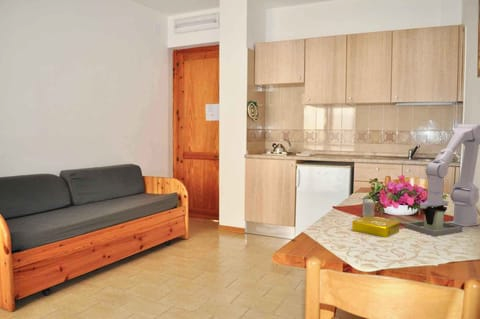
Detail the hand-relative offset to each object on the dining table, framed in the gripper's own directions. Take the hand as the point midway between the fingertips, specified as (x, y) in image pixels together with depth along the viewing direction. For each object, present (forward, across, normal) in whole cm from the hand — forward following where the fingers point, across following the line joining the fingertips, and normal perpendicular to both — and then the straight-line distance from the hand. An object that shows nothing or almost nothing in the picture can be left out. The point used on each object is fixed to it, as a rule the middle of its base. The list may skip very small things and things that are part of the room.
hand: (433, 223), depth 162 cm
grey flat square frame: (+2, 0, 0) cm, 2 cm away
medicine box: (+3, +12, -25) cm, 28 cm away
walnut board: (+2, 0, -15) cm, 15 cm away
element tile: (+3, +23, -9) cm, 25 cm away
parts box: (+2, 0, 0) cm, 2 cm away
